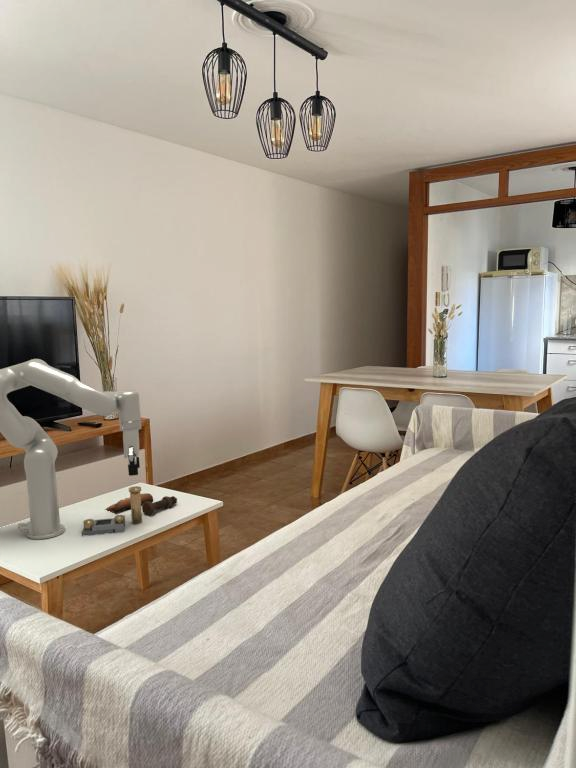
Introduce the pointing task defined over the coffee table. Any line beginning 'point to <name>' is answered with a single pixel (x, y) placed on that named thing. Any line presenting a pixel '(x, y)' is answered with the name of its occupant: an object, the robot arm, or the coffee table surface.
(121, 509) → the sunglasses case
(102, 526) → the brass knob on bracket
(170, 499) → the bolt
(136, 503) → the link pin
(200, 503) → the coffee table surface
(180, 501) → the coffee table surface
